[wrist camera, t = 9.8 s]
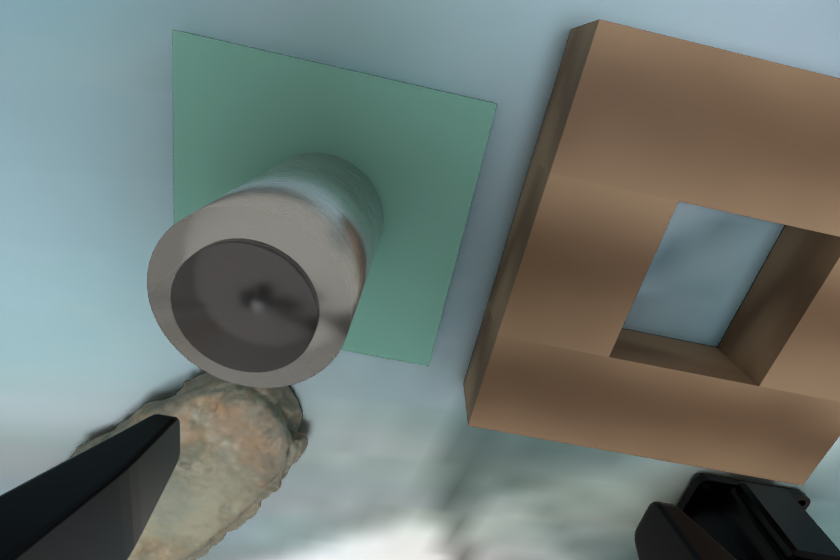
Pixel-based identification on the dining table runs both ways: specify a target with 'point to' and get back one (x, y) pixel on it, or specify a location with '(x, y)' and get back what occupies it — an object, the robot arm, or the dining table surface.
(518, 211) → the socket block
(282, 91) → the teal mat
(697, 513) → the robot arm
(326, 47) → the dining table surface
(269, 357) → the steel cylinder
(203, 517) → the beige elongated piece
